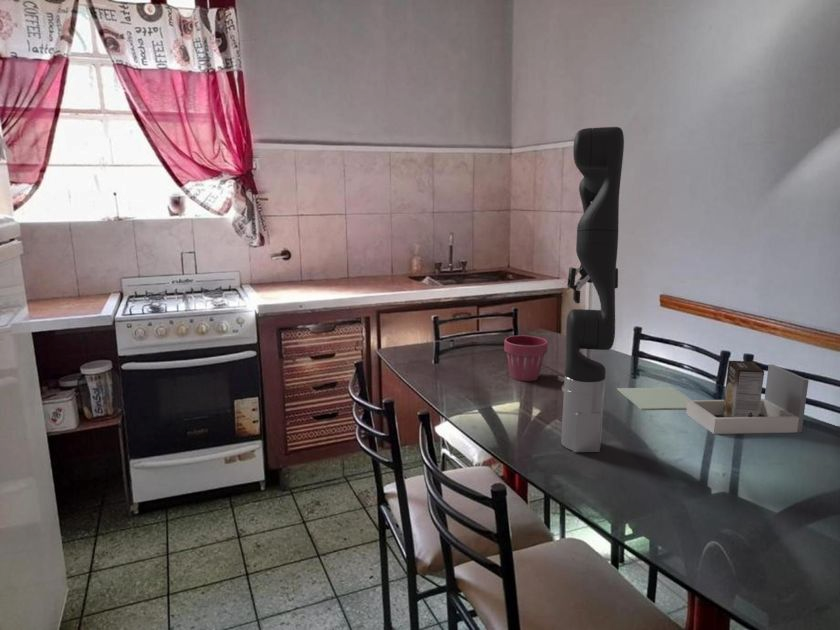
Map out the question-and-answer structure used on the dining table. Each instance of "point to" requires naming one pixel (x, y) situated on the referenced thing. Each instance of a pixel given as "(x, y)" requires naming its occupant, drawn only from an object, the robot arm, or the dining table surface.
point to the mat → (655, 398)
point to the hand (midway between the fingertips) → (591, 303)
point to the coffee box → (743, 389)
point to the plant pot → (525, 356)
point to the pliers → (561, 381)
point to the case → (778, 407)
